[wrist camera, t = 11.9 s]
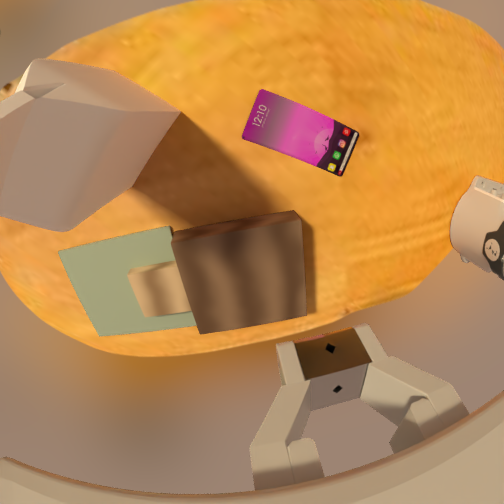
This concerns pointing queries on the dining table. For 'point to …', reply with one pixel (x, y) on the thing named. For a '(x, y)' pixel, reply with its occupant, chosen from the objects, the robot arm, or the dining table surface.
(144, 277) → the coaster
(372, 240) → the dining table surface
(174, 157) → the dining table surface
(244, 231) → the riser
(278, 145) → the smartphone
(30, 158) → the milk
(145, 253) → the mat
